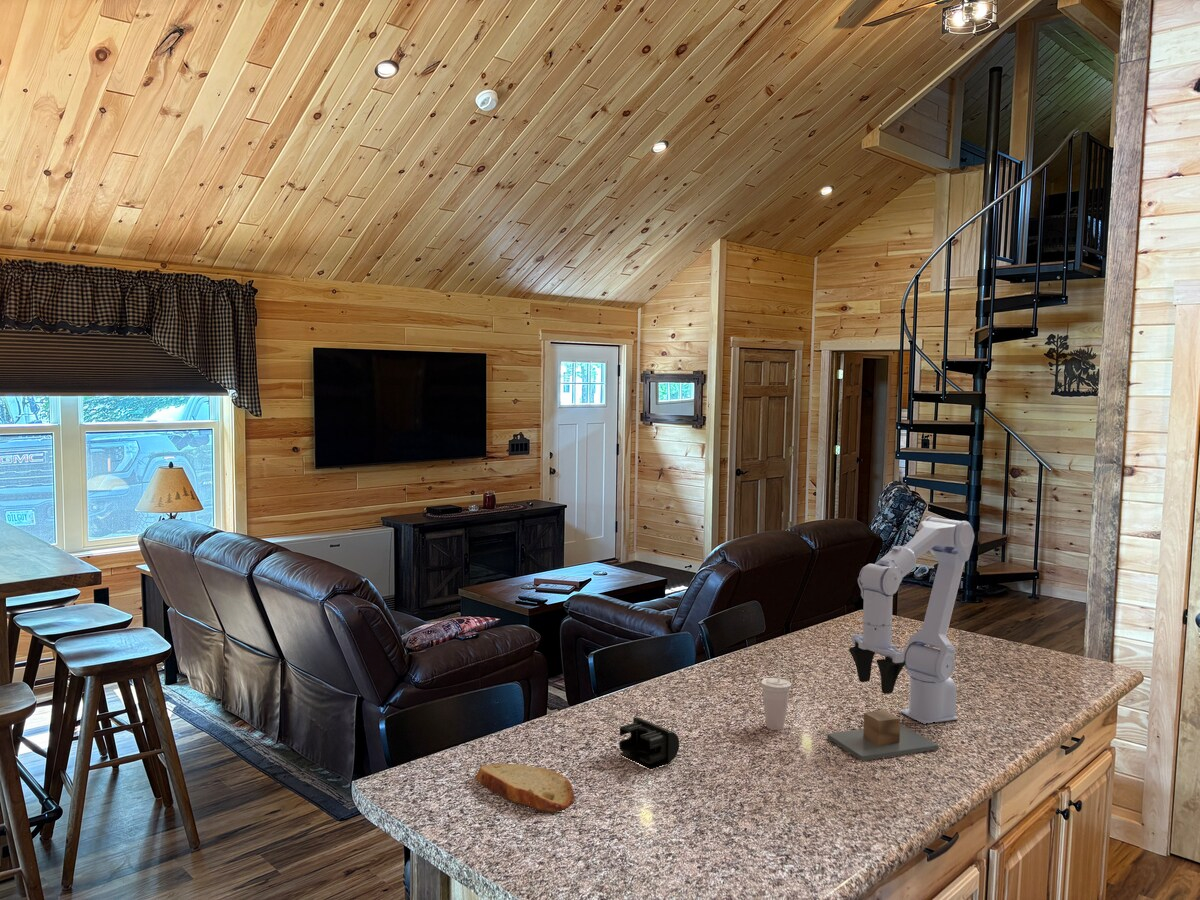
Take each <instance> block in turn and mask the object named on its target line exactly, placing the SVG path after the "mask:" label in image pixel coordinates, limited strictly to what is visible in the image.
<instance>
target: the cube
mask: <svg viewBox="0 0 1200 900" xmlns="http://www.w3.org/2000/svg"><path fill="white" fill-rule="evenodd" d="M900 724H901V718H900V717H898V716H897V715H894V713H891V712H889V711H887V710H885V709H883V710H875V711H874V710H873V711H867V712H863V729H864V732H863V737H865V738H867V739H868V740H870V741H872V742H873V743H875V744H877V745H878V746H880V745H887V744H894V743H899V739H900Z"/></svg>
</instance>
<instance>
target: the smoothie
mask: <svg viewBox="0 0 1200 900" xmlns="http://www.w3.org/2000/svg"><path fill="white" fill-rule="evenodd" d="M760 687H761V689H762V699H763V709H764V717H765V727H766V728H767V729H768V730H773V731H781V730H784V728H785V723H786V722H785V721H786V716H787V711H788V710H787V709H788V701H789V696H790V690H791V689H792V683H791V682H790V681H789V680H787V679H784V678H781V662H779V661H777V677H767V678H763V679H762V680H761V681H760Z"/></svg>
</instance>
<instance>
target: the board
mask: <svg viewBox="0 0 1200 900" xmlns="http://www.w3.org/2000/svg"><path fill="white" fill-rule="evenodd" d="M863 732H864V728H859V729H852V730H845V731H836V732H830V733H827V735H826V738H828V739H827V740H828V741H830V740H831V741H830V742H832V741H833V742H834V743H833V742H832V743H833V744H835V743H836V744H837V745H836V744H835V745H836V746H837V747H839V746H840V747H839V748H841V749H842V748H843V750H844V751H846V752H847V753H849V754H850V755H852V756H853V757H855V758H856V759H858V760H859V761H860V762H866V761H867V760H868V761H873V760H872V759H875V760H879V758H881V759H884V758H883V757H888V758H891V757H890V756H895V757H899V756H898V755H901V756H906V755H905V754H908V755H912V754H911V753H915V754H917V753H916V752H921V753H924V752H923V751H928V752H931V751H930V750H934V751H938V750H939V744H938V743H935V742H934V741H932V740H930V739H928V738H927V737H925V736H923V735H921V734H920V733H917V732H915V731H914V730H912V729H910V728H909V727H906V726H905V725H903V724H901V723H900V739H899V743H894V744H887V745H880V746H878V745H877V744H875V743H873V742H872V741H870V740H868V739H867V738H865V737H863ZM937 749H938V750H937ZM896 755H897V756H896Z"/></svg>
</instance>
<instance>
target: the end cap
mask: <svg viewBox="0 0 1200 900" xmlns="http://www.w3.org/2000/svg"><path fill="white" fill-rule="evenodd" d="M627 734H630V736H629V738H626V739H625V738H624V739H622V740H619V750H620V751H621V752H620V756H621V755H622V756H624V757H626V758H628V759H630V760H632V761H635V762H637V763H639V764H641V765H643V766H645V767H647V768H649V769H653V768H656V767H659V766H662V765H665V764H668V763H669V762H670V763H671V762H672V761H674V759H675V758H676V756H677V754H678V752H679V749H680V738H679V737H678V735H677V734H676V732H674V731H671V730H669V729H668V728H664V727H662V726H660V725H657V724H655V723H653V722H650V721H648V720H646V719H643V718H641V717H638V716H636V717H633V722H632V723H629V724H625V725H622V726H620V727H619V735H620V736H623V735H627ZM670 763H669V764H670ZM669 764H668V765H669Z"/></svg>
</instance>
